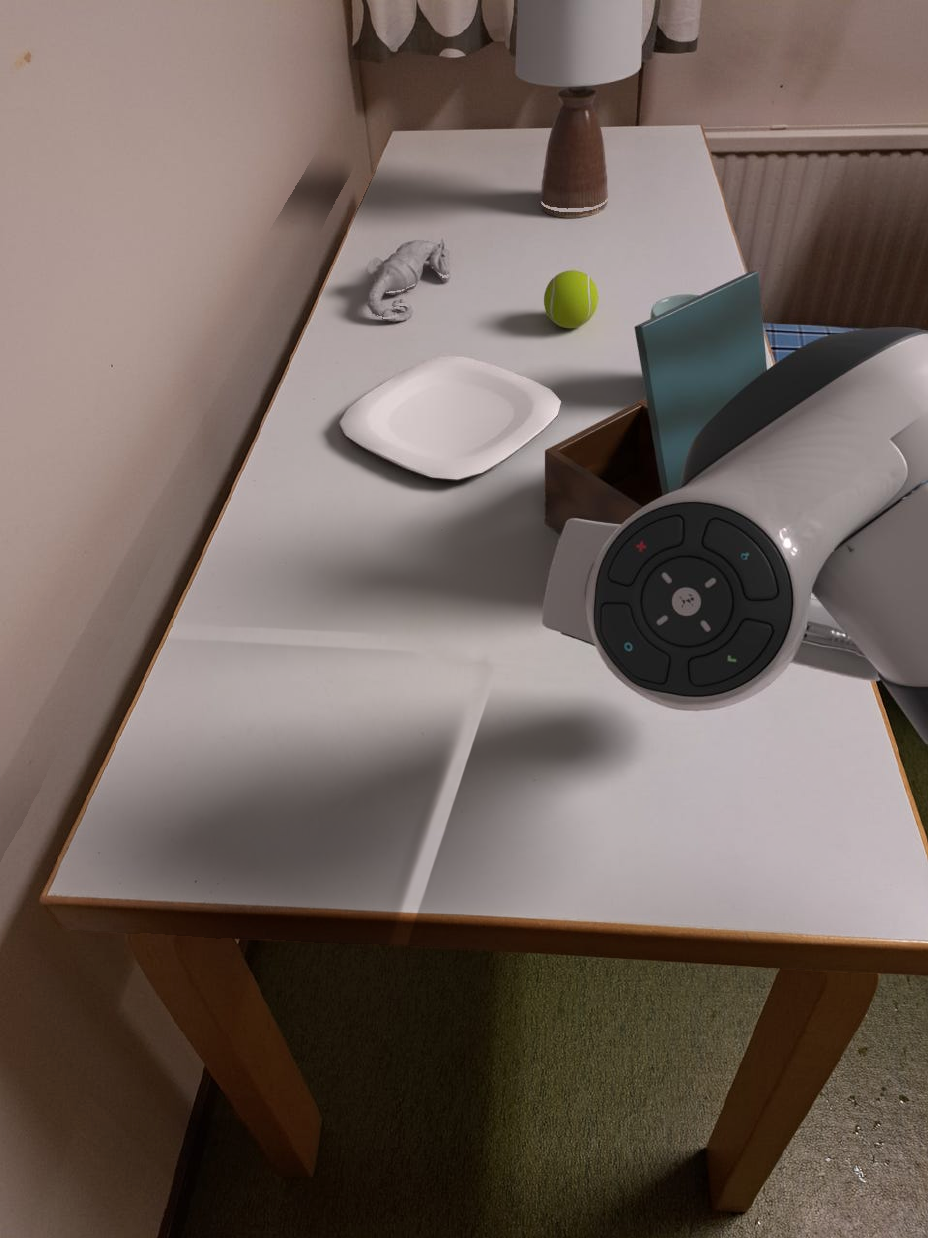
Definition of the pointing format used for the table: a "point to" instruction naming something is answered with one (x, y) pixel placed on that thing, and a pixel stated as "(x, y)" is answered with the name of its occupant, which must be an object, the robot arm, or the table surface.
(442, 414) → the plate
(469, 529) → the table surface
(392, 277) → the seahorse
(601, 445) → the wooden box
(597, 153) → the lamp
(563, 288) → the tennis ball
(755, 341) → the teal box lid
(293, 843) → the table surface
